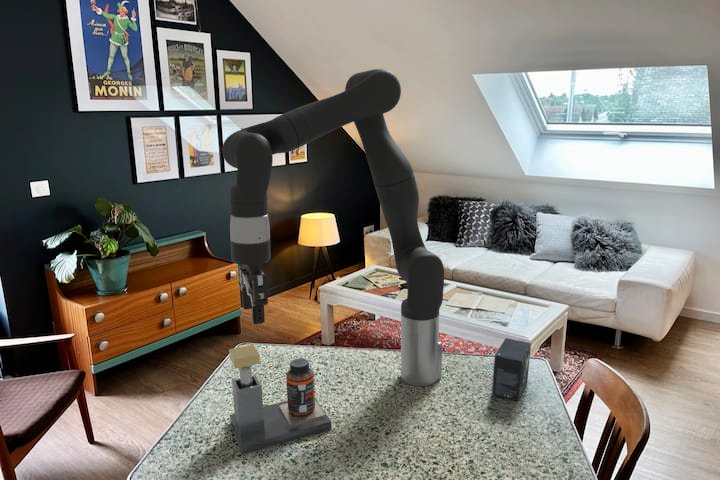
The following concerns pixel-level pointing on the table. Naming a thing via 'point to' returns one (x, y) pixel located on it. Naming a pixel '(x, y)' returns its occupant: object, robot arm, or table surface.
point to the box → (511, 369)
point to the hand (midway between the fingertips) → (253, 315)
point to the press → (270, 420)
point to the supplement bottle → (300, 388)
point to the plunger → (244, 363)
